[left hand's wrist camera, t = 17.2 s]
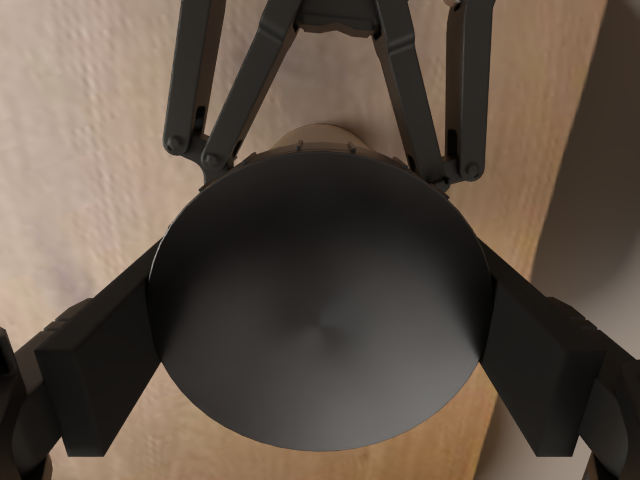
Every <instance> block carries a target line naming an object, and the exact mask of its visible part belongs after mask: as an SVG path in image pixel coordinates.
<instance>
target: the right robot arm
mask: <svg viewBox="0 0 640 480" xmlns="http://www.w3.org/2000/svg"><path fill="white" fill-rule="evenodd" d="M443 1H444V3H445V4H446V5H448V6H450V10H449V15H448V21H447V34H446V105H445V156H442V157H441V154H440V150H439V145H438V141H437V137H436V133H435V129H434V125H433V120H432V116H431V112H430V108H429V104H428V100H427V95H426V91H425V87H424V83H423V79H422V75H421V70H420V66H419V62H418V58H417V54H416V50H415V43H414V42H415V33H414V28H413V24H412V19H411V15H410V11H409V7H408V3H407V2H408V0H268V2H267V5H266V7H265V9H264V11H263V14H262V16H261V19H260V22H259V28H258V31H257V33H256V35H255V37H254V40H253V42H252V44H251V46H250V48H249V51H248V53H247V55H246V57H245V60H244V62H243V64H242V66H241V68H240V71H239V73H238V75H237V77H236V79H235V82H234V84H233V86H232V88H231V90H230V93H229V95H228V97H227V99H226V101H225V104H224V106H223V108H222V110H221V112H220V115H219V117H218V119H217V121H216V124H215V126H214V128H213V130H212V132H211V135H210V136H207V135H205V134H204V129H205V124H206V118H207V112H208V106H209V100H210V95H211V89H212V83H213V77H214V71H215V66H216V60H217V54H218V48H219V42H220V36H221V31H222V25H223V19H224V13H225V6H226V0H182V1H181V8H180V16H179V23H178V30H177V38H176V45H175V52H174V60H173V67H172V75H171V82H170V89H169V97H168V104H167V112H166V119H165V126H164V134H163V145H164V148H165V150H166V151H167V152H168V153H170V154H172V155H176V156H179V155H180V156H183V157H185V158H187V159H189V160H192V161H194V162H195V163H197V164H198V165H199V166H200V167H201V169H202V171H203V174H204V185H205V184H206V183H208V182H209V181H210V180H212V179H213V178H215V177H217V178H219V177H220V176H222V175H223V174H225V173H226V172H227V171H229V170H230V169H232V168H233V167H234V161H235V160H236V158H237V153H238V151H239V149H240V147H241V145H242V143H243V141H244V139H245V137H246V135H247V133H248V131H249V129H250V127H251V125H252V123H253V121H254V118H255V116H256V114H257V112H258V110H259V108H260V106H261V104H262V102H263V100H264V98H265V96H266V94H267V92H268V90H269V88H270V86H271V83H272V81H273V79H274V77H275V75H276V73H277V71H278V69H279V67H280V65H281V63H282V61H283V59H284V57H285V55H286V53H287V51H288V49H289V48H290V47H291V45H292V43H293V41H294V39H295V37H296V35H297V33H298V31H299V29H300V28H302V29H304V32H312V33H324V32H329V31H334V30H337V31H340V32H342V33H345V34H347V35H349V36H352V37H362V38H368V36H369V35H371V36H372V39H373V43H374V47H375V50H376V53H377V56H378V58H379V60H380V62H381V66H382V70H383V73H384V77H385V81H386V84H387V88H388V92H389V95H390V99H391V103H392V106H393V110H394V114H395V117H396V121H397V125H398V128H399V132H400V136H401V139H402V143H403V147H404V150H405V154H406V158H407V161H408V165H409V169H410V170H411V171H412V172H414V173H415V174H417V175H418V176H419V177H421V178H422V179H423V180H424V181H426V182H427V183H428V184H431V183H432V184H433V185H434V186H436V187H437V188H438V189H440V190H441V191H442V192H444V193H445V192H446V191H447V190H448V189H449V187H450V184H453V183H457V182H461V181H465V180H466V181H470V182H472V181H476V180H477V179H479V178H480V177H481V176H482V174H483V172H484V168H485V149H486V130H487V110H488V91H489V71H490V52H491V33H492V13H493V6H494V3H495V1H496V0H443Z"/></svg>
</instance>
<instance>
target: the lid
mask: <svg viewBox="0 0 640 480" xmlns="http://www.w3.org/2000/svg"><path fill="white" fill-rule="evenodd" d="M199 191H200V193H199V194H198V195H197V196H196V197H195V198H194V199H193V200H192V201H190V202H189V203H188V204H187V205H186V206H185V207H184V209H183V210H182V211H181V212H180V213H179V215H178V216H177V217H176V218H175V220H174V221H173V222H172V223H171V224H170V225H169V227H168V230H167V232H166V234H165V235H164V237H163V239H162V240H161V242H160V244H159V247H158V250H157V252H156V255H155V257H154V260H153V262H152V267H151V271H150V276H149V280H148V290H147V311H148V317H149V323H150V328H151V333H152V338H153V343H154V345H155V348H156V350H157V353H158V355H159V358H160V360H161V362H162V364H163V365H164V367H165V369H166V371H167V372H168V374H169V376H170V377H171V378H172V380H173V381H174V382H175V384H176V385H177V386H178V388H179V389H180V390H181V392H182V393H183V394H184V395H185V396H186V397H187V398H188V399H189V400H190V401H191V402H192V403H193V404H194V405H195V406H196V407H198V408H199V409H200V410H201V411H203V412H204V413H205V414H206V415H208V416H209V417H210V418H212V419H213V420H215V421H217V422H218V423H220V424H221V425H223V426H224V427H226V428H228V429H230V430H232V431H234V432H236V433H238V434H240V435H242V436H245V437H247V438H250V439H253V440H255V441H258V442H261V443H265V444H268V445H272V446H276V447H280V448H287V449H293V450H301V451H317V452H318V451H339V450H347V449H355V448H359V447H364V446H368V445H372V444H376V443H379V442H382V441H385V440H388V439H391V438H393V437H395V436H398V435H400V434H402V433H404V432H406V431H408V430H410V429H412V428H414V427H415V426H417V425H419V424H421V423H422V422H424V421H426V420H427V419H428V418H430V417H431V416H432V415H434V414H435V413H436V412H438V411H439V410H440V409H442V408H443V407H444V406H445V405H446V404H447V403H448V402H449V401H450V400H451V399H452V398H453V397H454V396H455V395H456V394H457V393H458V391H459V390H460V389H461V388H462V387H463V385H464V384H465V383H466V382H467V380H468V379H469V377H470V376H471V374H472V372H473V371H474V369H475V368H476V366H477V364H478V362H479V360H480V358H481V355H482V353H483V351H484V349H485V346H486V343H487V339H488V335H489V330H490V325H491V319H492V313H493V287H492V281H491V275H490V270H489V266H488V263H487V260H486V257H485V254H484V251H483V248H482V247H481V245H480V243H479V241H478V239H477V236H476V234H475V233H474V231H473V229H472V228H471V227H470V225H469V224H468V223H467V221H466V220H465V218H464V217H463V216H462V214H461V213H460V212H459V210H457V209H456V208H455V207H454V206H453V205H452V204H451V203H450V202H449V201H448V199H449V196H448V195H446V194H445V193H444V192H442V191H441V190H440V189H438V188H437V187H436V186H434V185H433V184H432V183H431V184H428V183H427V182H426V181H424V180H423V179H422V178H421V177H419V176H418V175H417V174H415V173H414V172H412V171H411V170H410V169H408V166H407V165H406V164H404V163H403V162H402V161H400V160H399V159H398V158H396V157H393V159H391V158H389V157H387V156H385V155H382V154H380V153H377V152H374V151H372V150H369V149H366V148H362V147H357V146H354V144H353V143H352V142H349V141H348V144H343V143H331V142H309V143H303V140H299V141H298V143H297V144H292V145H287V146H282V147H278V148H275V149H272V150H269V151H266V152H263V153H259V154H256V152H254V153H252V154H251V155H250V156H248V157H247V158H246V159H245V160H243V161H242V162H241V163H239V164H238V165H236V166H235V167H233V168H232V169H230V170H229V171H227V172H226V173H225V174H223V175H222V176H220V177H219V178H217V177H215V178H213V179H212V180H210V181H209V182H208V183H206V184H205V185H204V186H202V187H201V188H200V189H199Z"/></svg>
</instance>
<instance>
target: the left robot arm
mask: <svg viewBox="0 0 640 480" xmlns="http://www.w3.org/2000/svg"><path fill="white" fill-rule="evenodd" d="M162 239H163V237H162V238H161V239H160V240H159V241H158V242H157V243H156V244H154V245H153V246H152V247H151V248H150V249H149V250H148V251H146V252H145V253H144V254H143V255H142V256H141V257H140V258H138V259H137V260H136V261H135V262H134V263H133V264H132V265H131V266H129V267H128V268H127V269H126V270H125V271H124V272H123V273H121V274H120V275H119V276H118V277H117V278H116V279H115V280H113V281H112V282H111V283H110V284H109V285H108V286H107V287H105V288H104V289H103V290H102V291H101V292H100V293H99V294H97V295H96V296H95V297H94V298H87V299H85V300H84V301H82V302H80V303H78V304H76V305H74V306H72V307H70V308H68V309H67V310H66V311H65V312H63V313H62V314H61V315H60V316H59V317H57V318H56V319H55V322H51V323H50V324H49V325H48V326H47V327H45V328H44V331H41V332H39V333H38V334H37V335H36V336H34V337H33V338H32V339H31V340H30V341H28V342H27V343H26V344H25V345H24V346H22V347H21V348H20V349H19V350H18V351H16V352H15V353H14V352H13V349H12V347H11V344H10V341H9V338H8V335H7V332H6V330H5V329H3V328H1V327H0V480H51V476H52V470H53V468H52V461H51V458H50V455H49V452H50V450H51V449H52V448H53V447H54V445H55V444H56V443H57V441H58V440H59V439H60V437H61V436H62V439H63V442H64V445H65V448H66V452H67V455H68V457H104V455H105V454H106V452H107V450H108V449H109V447H110V445H111V444H112V442H113V440H114V439H115V437H116V435H117V434H118V432H119V431H120V429H121V427H122V426H123V424H124V422H125V421H126V419H127V417H128V416H129V414H130V412H131V411H132V409H133V407H134V406H135V404H136V402H137V401H138V399H139V397H140V396H141V394H142V393H143V391H144V389H145V388H146V386H147V384H148V383H149V381H150V379H151V378H152V376H153V374H154V373H155V371H156V369H157V368H158V366H159V364H160V363H161V360H160V358H159V355H158V353H157V350H156V348H155V345H154V343H153V338H152V333H151V328H150V323H149V317H148V311H147V290H148V280H149V276H150V271H151V267H152V262H153V260H154V257H155V255H156V252H157V250H158V247H159V244H160V242H161V240H162ZM477 239H478V241H479V243H480V245H481V247H482V248H483V251H484V254H485V257H486V260H487V263H488V266H489V270H490V275H491V281H492V287H493V313H492V319H491V325H490V330H489V335H488V339H487V343H486V346H485V349H484V351H483V353H482V355H481V358H480V360H479V362H480V364H481V366H482V367H483V369H484V371H485V372H486V374H487V376H488V377H489V379H490V381H491V382H492V384H493V386H494V387H495V389H496V391H497V392H498V394H499V395H500V397H501V399H502V400H503V402H504V404H505V405H506V407H507V409H508V410H509V412H510V414H511V415H512V417H513V419H514V420H515V422H516V423H517V425H518V427H519V428H520V430H521V432H522V433H523V435H524V437H525V438H526V440H527V442H528V443H529V445H530V447H531V448H532V450H533V452H534V453H535V455H536V456H537V457H572V455H573V452H574V449H575V446H576V443H577V440H578V437H579V435H580V436H581V438H582V439H583V440H584V441H585V443H586V444H587V445H588V447H589V448H590V449H591V451H592V452H591V455H590V458H589V461H588V464H587V467H586V470H585V472H584V475H583V478H582V480H640V360H636V359H635V358H634V357H632V356H631V355H630V354H629V353H627V352H626V351H625V350H624V349H622V348H621V347H620V346H619V345H618V344H617V343H615V342H614V341H613V340H612V339H610V338H609V337H608V336H607V335H606V334H604V333H603V332H602V331H601V330H597V327H596V326H595V325H593V324H592V323H591V322H590V321H589V320H586V319H585V317H584V316H583V315H581V314H580V313H579V312H578V311H576V310H575V309H574V308H573V307H572V306H570V305H568V304H566V303H564V302H562V301H560V300H558V299H556V298H554V297H545V296H544V295H543V294H542V293H541V292H539V291H538V290H537V289H536V288H535V287H534V286H533V285H531V284H530V283H529V282H528V281H527V280H526V279H525V278H523V277H522V276H521V275H520V274H519V273H518V272H517V271H515V270H514V269H513V268H512V267H511V266H510V265H509V264H507V263H506V262H505V261H504V260H503V259H502V258H501V257H499V256H498V255H497V254H496V253H495V252H494V251H493V250H491V249H490V248H489V247H488V246H487V245H486V244H485V243H483V242H482V241H481V240H480V239H479V238H478V237H477Z"/></svg>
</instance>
